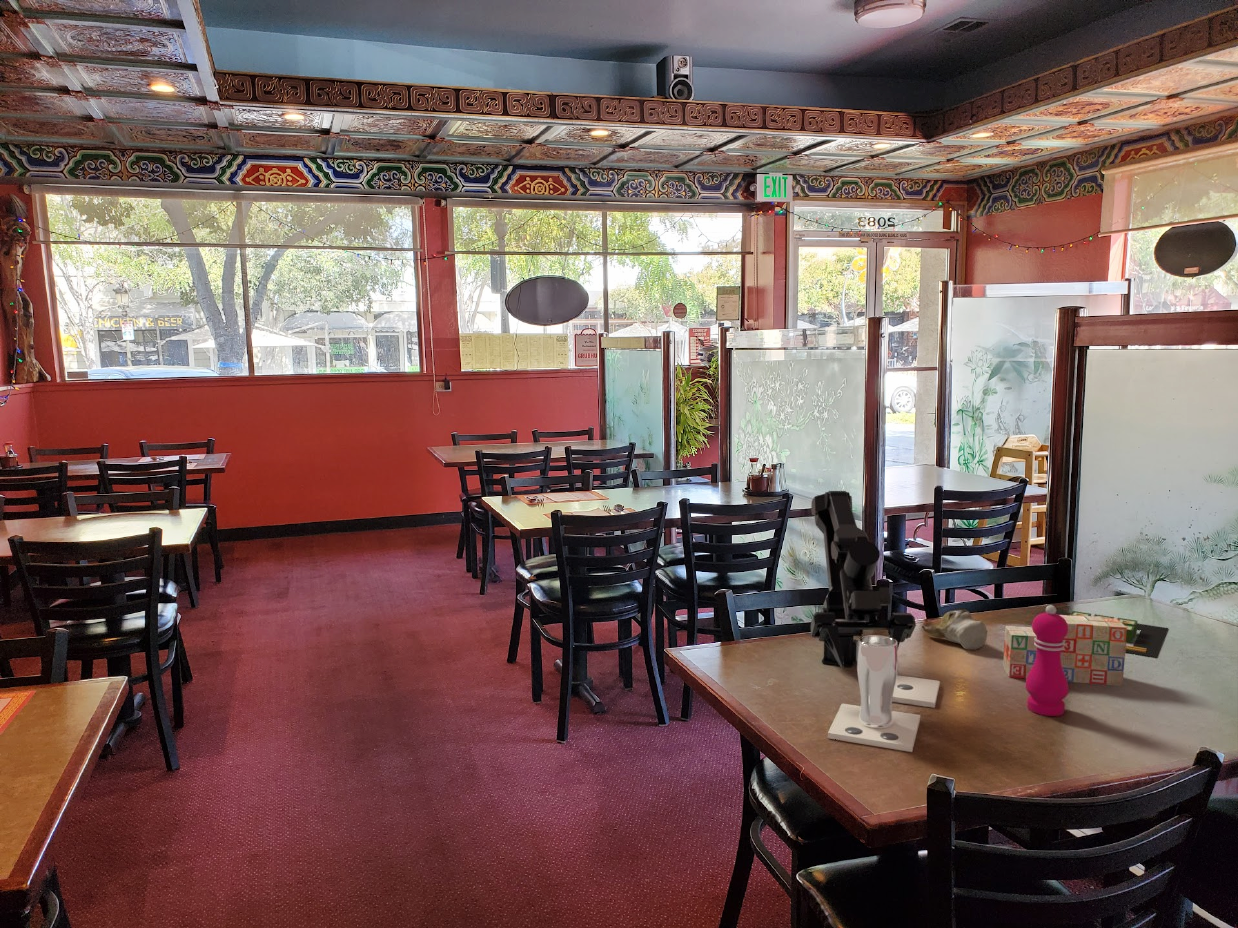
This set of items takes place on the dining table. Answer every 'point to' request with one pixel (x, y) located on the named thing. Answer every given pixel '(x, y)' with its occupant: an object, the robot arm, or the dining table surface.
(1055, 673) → the pepper mill
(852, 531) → the robot arm
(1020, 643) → the stack of blocks
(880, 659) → the beer glass
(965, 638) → the ceramic sculpture
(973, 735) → the dining table surface
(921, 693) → the one-dot tile
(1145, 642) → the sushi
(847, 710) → the two-dot tile
